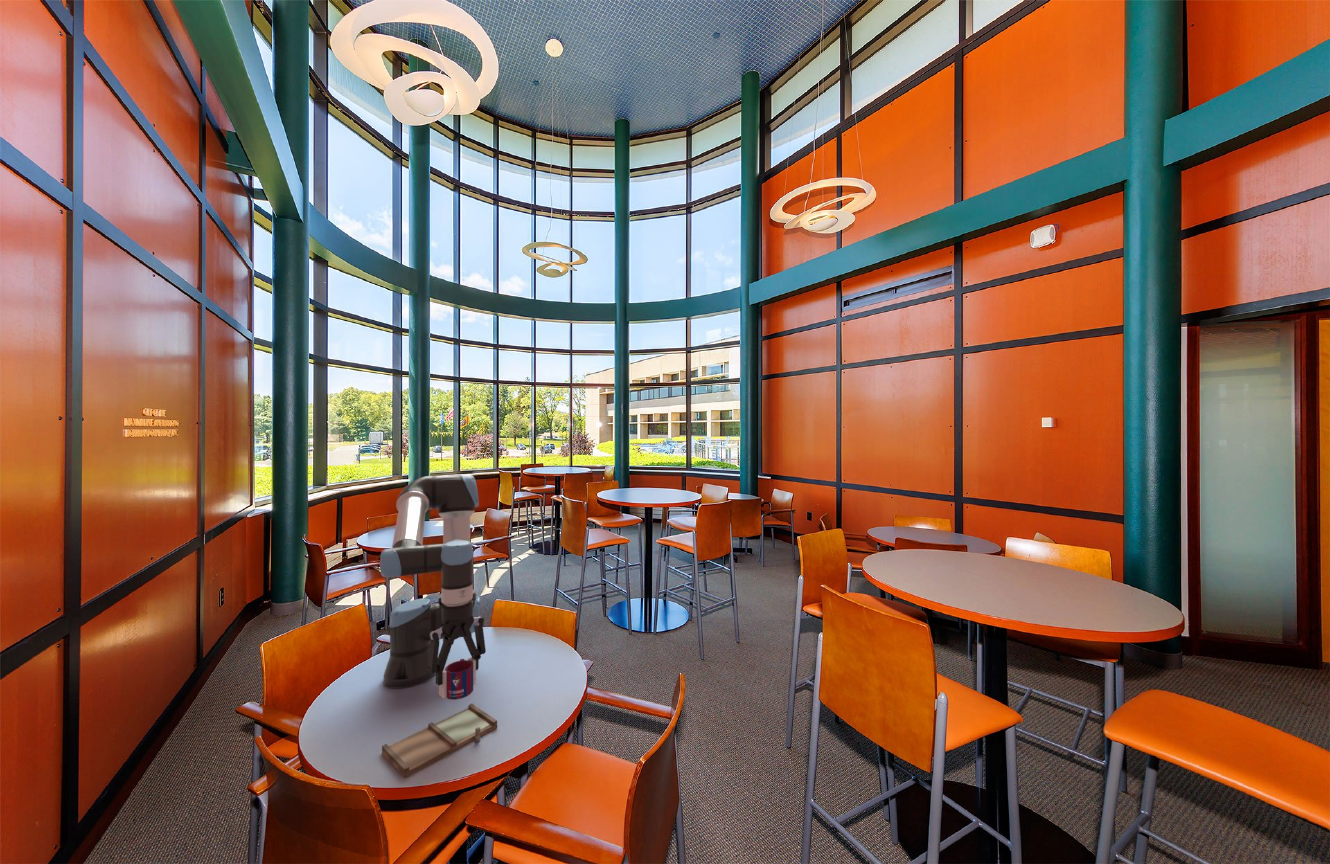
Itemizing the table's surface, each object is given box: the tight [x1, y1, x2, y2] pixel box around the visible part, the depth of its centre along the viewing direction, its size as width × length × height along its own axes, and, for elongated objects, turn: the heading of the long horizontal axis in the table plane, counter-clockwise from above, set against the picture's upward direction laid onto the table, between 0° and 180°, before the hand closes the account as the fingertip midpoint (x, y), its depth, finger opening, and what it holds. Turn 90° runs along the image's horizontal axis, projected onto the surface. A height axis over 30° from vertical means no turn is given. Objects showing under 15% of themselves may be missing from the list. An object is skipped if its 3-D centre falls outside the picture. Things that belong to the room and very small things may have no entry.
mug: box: [444, 658, 474, 701], centre depth 122 cm, size 7×10×7 cm
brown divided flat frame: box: [381, 703, 498, 778], centre depth 117 cm, size 15×23×3 cm, turn 141°
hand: (457, 689), depth 121 cm, fingers closed on mug, 7 cm apart
